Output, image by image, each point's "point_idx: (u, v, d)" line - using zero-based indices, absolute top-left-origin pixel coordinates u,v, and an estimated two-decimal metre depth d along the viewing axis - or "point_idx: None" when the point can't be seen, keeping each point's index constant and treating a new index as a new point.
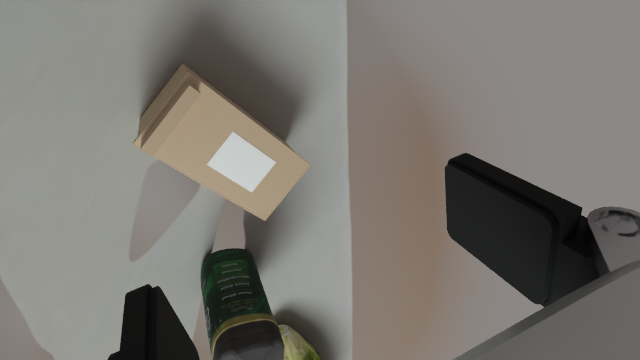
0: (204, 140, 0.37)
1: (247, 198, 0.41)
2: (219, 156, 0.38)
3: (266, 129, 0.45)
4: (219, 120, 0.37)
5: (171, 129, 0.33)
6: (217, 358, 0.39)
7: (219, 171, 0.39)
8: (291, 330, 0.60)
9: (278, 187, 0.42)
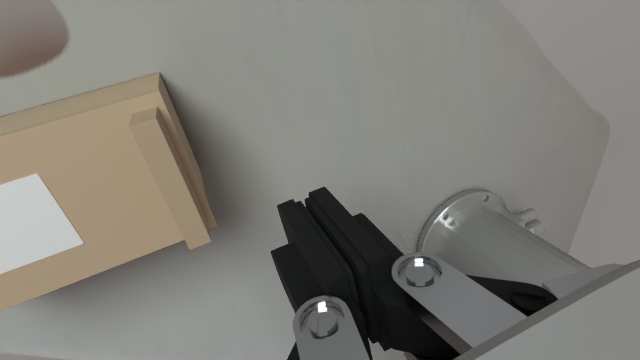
0: (94, 194, 0.19)
1: None
2: (42, 201, 0.18)
3: None
4: (118, 232, 0.20)
5: (159, 183, 0.18)
6: None
7: (5, 185, 0.18)
8: None
9: None
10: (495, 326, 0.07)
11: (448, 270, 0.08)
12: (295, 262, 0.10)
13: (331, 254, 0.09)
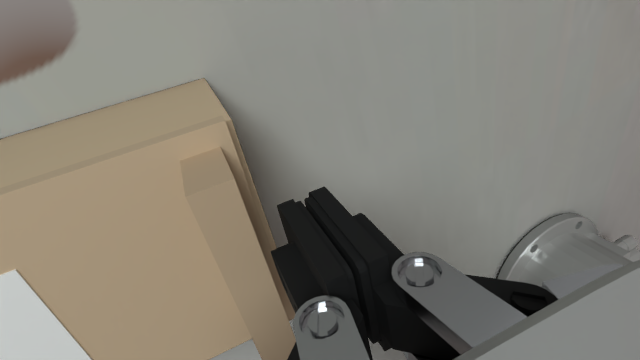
0: (114, 292, 0.12)
1: None
2: (25, 312, 0.11)
3: None
4: (150, 342, 0.13)
5: (231, 284, 0.10)
6: None
7: None
8: None
9: None
10: (495, 326, 0.07)
11: (448, 270, 0.08)
12: (296, 262, 0.10)
13: (331, 254, 0.09)
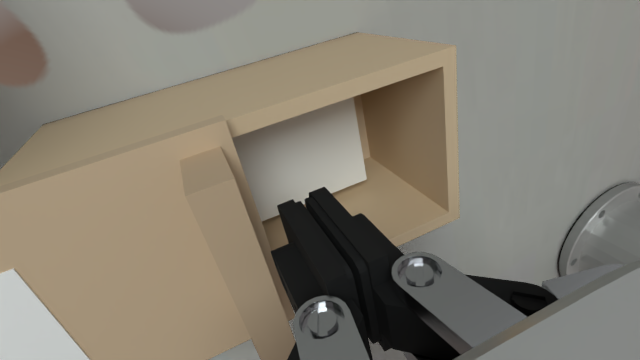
0: (113, 291, 0.11)
1: None
2: (23, 311, 0.11)
3: None
4: (149, 342, 0.13)
5: (231, 284, 0.10)
6: None
7: None
8: None
9: None
10: (495, 326, 0.07)
11: (448, 270, 0.08)
12: (296, 262, 0.10)
13: (331, 254, 0.09)
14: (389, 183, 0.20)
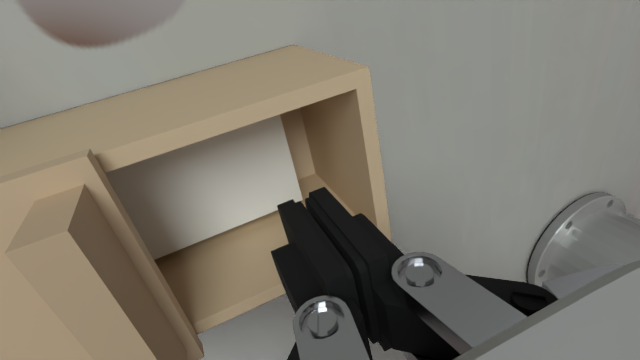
0: None
1: None
2: None
3: None
4: None
5: (86, 342, 0.09)
6: None
7: None
8: None
9: None
10: (495, 326, 0.07)
11: (448, 270, 0.08)
12: (296, 262, 0.10)
13: (331, 254, 0.09)
14: None
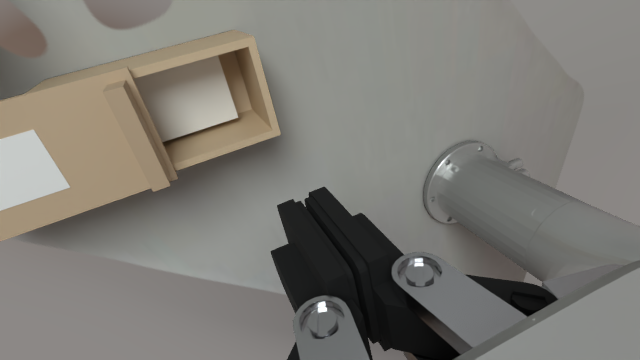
0: (78, 148, 0.25)
1: None
2: (37, 152, 0.24)
3: None
4: (97, 179, 0.26)
5: (127, 136, 0.24)
6: None
7: (9, 138, 0.23)
8: None
9: None
10: (495, 326, 0.07)
11: (448, 270, 0.08)
12: (296, 262, 0.10)
13: (331, 254, 0.09)
14: (253, 120, 0.34)
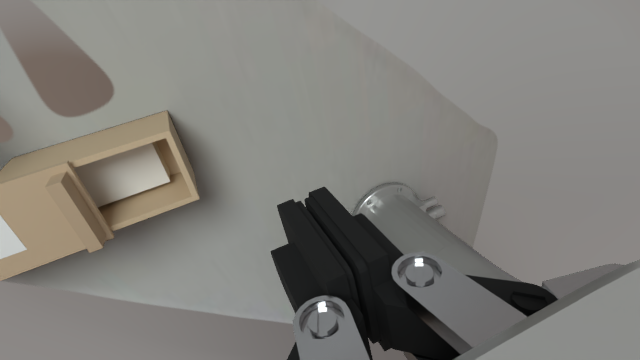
0: (32, 221, 0.33)
1: None
2: (0, 226, 0.32)
3: None
4: (48, 242, 0.34)
5: (66, 216, 0.32)
6: None
7: None
8: None
9: None
10: (495, 326, 0.07)
11: (448, 270, 0.08)
12: (295, 262, 0.10)
13: (331, 254, 0.09)
14: (182, 183, 0.42)
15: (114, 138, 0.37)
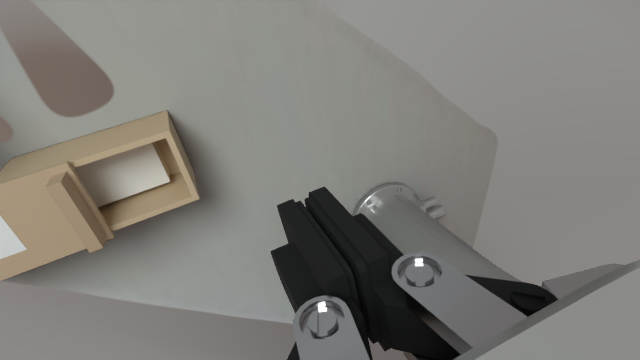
0: (32, 221, 0.33)
1: None
2: (0, 226, 0.32)
3: None
4: (48, 242, 0.34)
5: (66, 216, 0.32)
6: None
7: None
8: None
9: None
10: (495, 326, 0.07)
11: (448, 270, 0.08)
12: (295, 262, 0.10)
13: (331, 254, 0.09)
14: (182, 183, 0.42)
15: (114, 138, 0.37)
